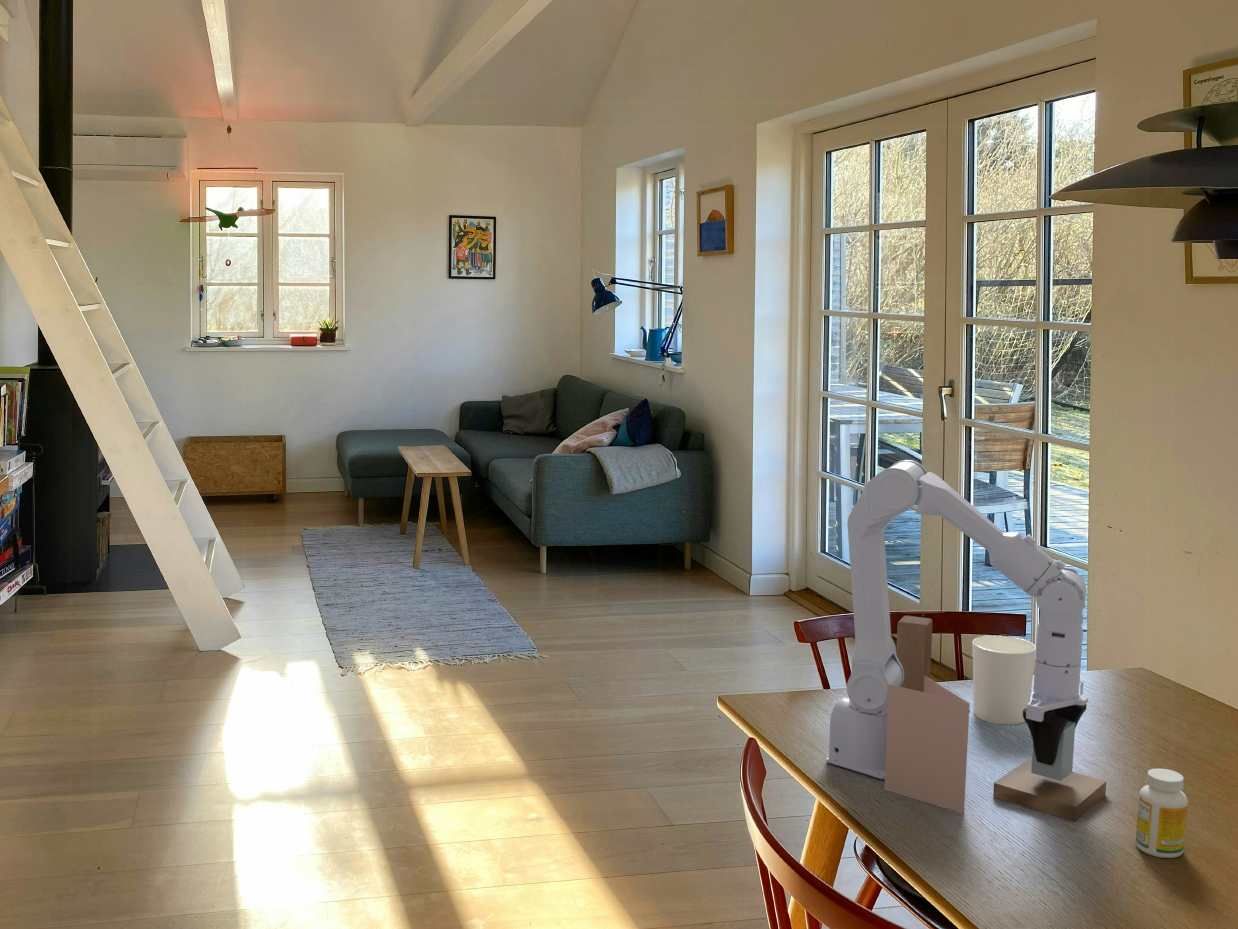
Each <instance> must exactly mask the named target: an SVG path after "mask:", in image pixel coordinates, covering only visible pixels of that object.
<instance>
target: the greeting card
mask: <svg viewBox="0 0 1238 929" xmlns="http://www.w3.org/2000/svg"><path fill="white" fill-rule="evenodd" d="M970 704H971V703H970V702H968V701H967V700H965V699H964V698H961V697H960V696H959V695H956V694H955V693H953V692H952V691H950V690H949V689H947V688H945V687H944V686H942V685H941V684H939V683H937V682H936V681H934V680H933V679H931V678H930V679H929V678H928V677H926V676H924V692H920V691H916V690H911V689H907V688H903V687H899V686H895V685H891V684H889V690H888V714H887V739H886V763H885V779H884V789H886V791H887V790H888V792H891V791H892V792H891V793H894V792H895V794H897V793H898V795H901V794H902V795H901V796H905V797H907V798H911V799H914V800H918V801H921V802H923V803H927V804H931V805H935V806H938V807H940V808H943V809H948V810H951V811H954V812H957V813H960V814H965V801H966V784H967V783H966V782H967V781H966V780H967V763H968V762H967V761H968V760H967V759H968V743H969V741H968V740H969V721H970V712H971V710H970Z"/></svg>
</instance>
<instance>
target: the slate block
mask: <svg viewBox="0 0 1238 929" xmlns="http://www.w3.org/2000/svg"><path fill="white" fill-rule="evenodd" d="M1075 734H1076V728H1075V722H1071V721H1068V723H1067V724H1066V726H1065V728H1064V730H1063V732H1062V734H1061V737H1060V741H1059V745H1058V750H1057V755H1056V759H1055V762H1054V764H1053V765H1047V764H1044V763H1040V762H1037V760H1036V755H1035V750H1034V745H1033V744H1032V755H1031V761H1032V768H1031V773H1034V774H1037V775H1041V776H1044V777H1048V778H1051V779H1055V780H1059V781H1062V780H1063V779H1064V778H1065V777H1067V776H1068V775H1069V774H1070V773H1072V772H1073V764H1074V750H1075Z"/></svg>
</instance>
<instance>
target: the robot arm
mask: <svg viewBox="0 0 1238 929" xmlns="http://www.w3.org/2000/svg"><path fill="white" fill-rule="evenodd" d="M914 506H917V508H916V510H915V514H916V515H924V516H926V515H927V516H939V517H940V518H942V519H944V520H945V521H947V523H949V524H950V525H952V526H953V527H955V528H956V529H958V530H959V531H961V532H962V533H963V534H964V535H966V536H967V537H969V538H970V539H971V540H973V541H974V542H976V544H978V545H980V546H981V547H982V548H983V549H985V550H987V552H988V556H989V563H990V565H991V566H992V567H993V568H994V569H995V570H997V571H998V572H999V573H1000V574H1002V575H1003V576H1005V577H1006V579H1008V580H1009V581H1010V582H1012V583H1013V584H1014V585H1016V586H1017V587H1018V588H1019V589H1020V590H1022V591H1023V592H1024V593H1025V594H1026V595H1028V596H1031V597H1034V598H1035V601H1036V605H1037V608H1038V609H1039V622H1038V624H1037V627H1036V641H1035V642H1036V643H1035V646H1036V655H1035V663H1034V671H1033V687H1031V696H1030V702H1029V703H1028V704H1027V708H1025V709H1024V710H1023V718H1024V720H1025V723H1026V726H1027V727H1028V730H1029V733H1030V735H1031V740H1032V746H1033V745H1034V750H1035V755H1036V760H1037V762H1040V763H1044V764H1047V765H1053V764H1054V762H1055V759H1056V755H1057V750H1058V745H1059V741H1060V737H1061V734H1062V732H1063V730H1064V728H1065V726H1066V724H1067V723H1068V721H1071V722H1075V729H1076V727H1077V725H1078V723H1079V721H1080V719H1081V717H1082V716H1083V714H1084V713H1085V712H1086V710H1087V704H1088V701H1089V700H1088V699H1089V698H1088V697H1087V696H1084V695H1083V694H1084V693H1083V692H1084V681H1083V680H1081V668H1082V655H1083V654H1082V652H1083V651H1082V650H1083V638H1084V636H1083V635H1084V629H1083V627H1082V625H1083V623H1084V615H1083V610H1084V609H1085V605H1086V598H1087V586H1086V583H1085V581H1084V579H1083V578H1082V576H1081V575H1080V574H1078V571H1077V570H1075V569H1074V568H1072V567H1067V566H1066V563H1064V562H1063V561H1062V560H1060V559H1058V561H1056V560H1055V559H1054V558H1052V557H1051V556H1049V555H1048V554H1047V553H1046V552H1045V551H1044V550H1042V549H1041V548H1040V547H1039V546H1037V545H1036V542H1037V539H1036V538H1035V537H1033V536H1032V535H1031V534H1027V535H1026V536H1024V535H1023V534H1022V533H1020V532H1018V531H1015V532H1005V531H1003V530H1002V529H1000V527H999V526H998V525H996V524H995V523H994V522H992V521H991V520H990V519H989V518H988V517H987V516H985V515H984V514H983V513H982V512H981V511H979V510H978V509H977V507H975V506H974V505H973V504H971V503H970V502H969V501H968V500H967V499H965V498H964V497H963V496H962V495H961V494H960V493H959V492H957V491H956V490H955V489H954V488H953V487H951V485H950V484H948V483H947V482H946V481H944V479H943V478H941V477H940V476H938V475H937V474H935V473H934V472H932V471H927V469H926V468H925V467H924V466H923V465H922V464H921V463H919V462H918V461H915V460H912V459H911V460H910V459H903V460H898V461H897V462H894V463H893V464H892V465H890V466H889V467H888V468H884V469H883V470H881V471H880V472H878V473H877V474H876V475H875V476H874V477H872V478H871V479H869V481H867V482H866V484H865V485H864V487H863V491H862V492H861V494H860V496H859V498H858V499H857V501H856V503H855V504H854V505H853V507H852V509H851V512H850V513H849V515H848V517H847V522H846V523H847V524H846V526H847V537H848V538H847V539H848V552H849V565H850V569H849V570H850V580H851V582H850V583H851V593H852V594H851V596H852V610H853V623H854V624H853V625H854V639H855V642H854V648H853V653H852V655H851V656H852V657H851V673H850V675H849V678H848V680H847V684H846V693H847V697H842V698H840V699H838V700H837V701H836V703H834V706H833V708H832V711H831V715H830V720H829V742H828V743H829V746H828V749H829V750H828V757H826V759H825V762H826V763H828V764H832V765H835V766H839V767H842V768H845V769H846V770H847V769H848V770H851V771H854V772H857V773H860V774H864V775H867V776H870V777H874V778H877V779H880V780H885V763H886V739H887V714H888V690H889V684H891V685H895V686H899V687H900V686H901V685H902V683H903V680H904V670H903V667H902V665H901V663H900V662H899V660H898V658H897V655H896V652H897V645H896V644H895V641H894V640H893V638H892V629H891V628H892V627H891V617H890V616H891V612H890V600H889V599H890V597H889V596H890V595H889V585H888V583H889V582H888V571H887V570H888V568H887V557H886V555H887V554H886V539H885V538H886V536H885V529H886V528H887V527H888V525H890V524H891V523H892V521H894V520H895V518H896V517H897V516H900V515H902V514H903V513H905V512H907V511H909V510H910V509H912V508H913V507H914Z"/></svg>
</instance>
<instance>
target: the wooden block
mask: <svg viewBox="0 0 1238 929" xmlns="http://www.w3.org/2000/svg"><path fill="white" fill-rule="evenodd" d="M933 625H934V624H933V619H932V618H929V617H922V616H921V617H919V616H913V615H904V616H902V618H901V619H900V620H899V621H898V622H897V633H896V655H897V658H898V660H899V662H900V663H901V665H902V667H903V670H904V680H903V683H902V685H901V686H900V687H903V688H907V689H911V690H916V691H920V692H924V676H926V677H928V678H929V679H931V664H932V644H933V643H932V642H933V640H932V639H933Z"/></svg>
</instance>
